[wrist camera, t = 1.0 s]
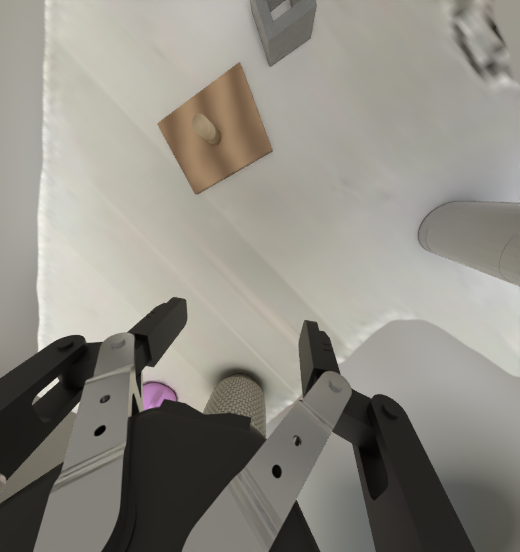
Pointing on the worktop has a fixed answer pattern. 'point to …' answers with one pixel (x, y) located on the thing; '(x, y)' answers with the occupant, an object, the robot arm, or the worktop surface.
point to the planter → (239, 400)
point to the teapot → (156, 395)
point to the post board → (228, 120)
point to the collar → (283, 26)
